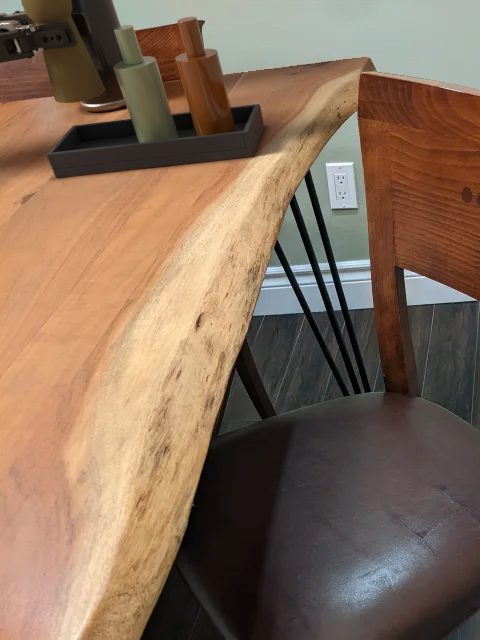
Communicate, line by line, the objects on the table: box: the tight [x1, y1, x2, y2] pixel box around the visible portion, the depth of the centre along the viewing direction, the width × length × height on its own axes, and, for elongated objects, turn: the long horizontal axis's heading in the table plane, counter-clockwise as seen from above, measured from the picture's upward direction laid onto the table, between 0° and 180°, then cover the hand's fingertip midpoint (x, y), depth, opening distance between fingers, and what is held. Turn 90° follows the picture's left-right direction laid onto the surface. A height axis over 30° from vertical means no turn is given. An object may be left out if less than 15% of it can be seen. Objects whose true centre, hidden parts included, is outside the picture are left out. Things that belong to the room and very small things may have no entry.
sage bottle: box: [113, 24, 179, 143], centre depth 83 cm, size 5×5×12 cm
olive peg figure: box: [20, 0, 105, 104], centre depth 80 cm, size 6×6×11 cm
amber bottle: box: [174, 16, 237, 136], centre depth 82 cm, size 5×5×12 cm
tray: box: [45, 103, 265, 179], centre depth 87 cm, size 25×10×3 cm, turn 89°
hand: (80, 28), depth 79 cm, fingers closed on olive peg figure, 4 cm apart
